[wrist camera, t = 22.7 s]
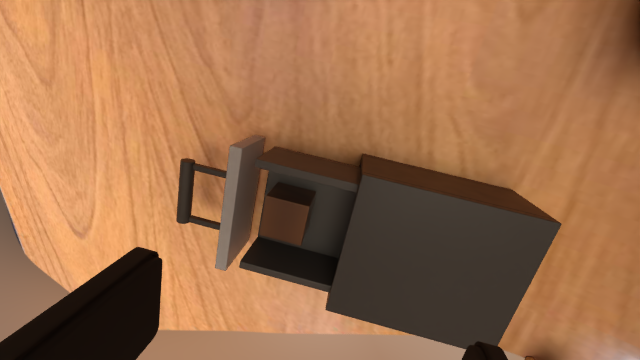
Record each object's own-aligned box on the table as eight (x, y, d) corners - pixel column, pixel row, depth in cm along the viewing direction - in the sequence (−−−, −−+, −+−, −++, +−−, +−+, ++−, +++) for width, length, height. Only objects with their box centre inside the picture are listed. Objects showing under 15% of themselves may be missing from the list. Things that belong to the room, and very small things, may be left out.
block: (271, 217, 35) (258, 235, 31) (278, 181, 34) (265, 195, 30) (308, 226, 35) (301, 246, 31) (316, 191, 34) (309, 206, 29)
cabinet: (333, 262, 38) (325, 310, 30) (362, 153, 34) (362, 174, 25) (463, 297, 37) (492, 357, 29) (512, 189, 33) (562, 223, 24)
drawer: (197, 226, 38) (164, 254, 32) (207, 122, 34) (170, 130, 28) (359, 269, 37) (358, 308, 31) (390, 167, 33) (397, 187, 26)
